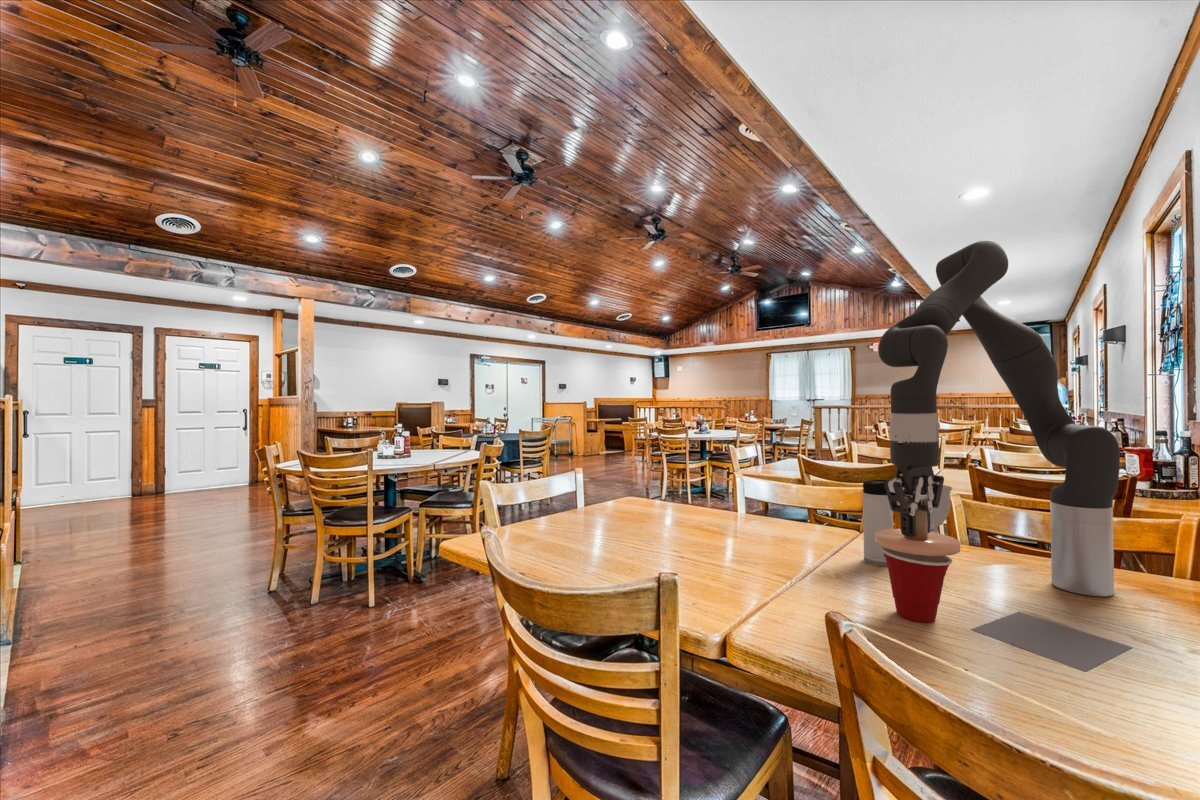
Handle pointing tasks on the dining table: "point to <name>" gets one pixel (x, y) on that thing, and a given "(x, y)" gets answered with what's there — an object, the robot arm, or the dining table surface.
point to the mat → (1053, 640)
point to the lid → (918, 539)
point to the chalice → (941, 509)
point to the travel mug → (875, 519)
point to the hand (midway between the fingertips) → (915, 533)
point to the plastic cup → (916, 583)
